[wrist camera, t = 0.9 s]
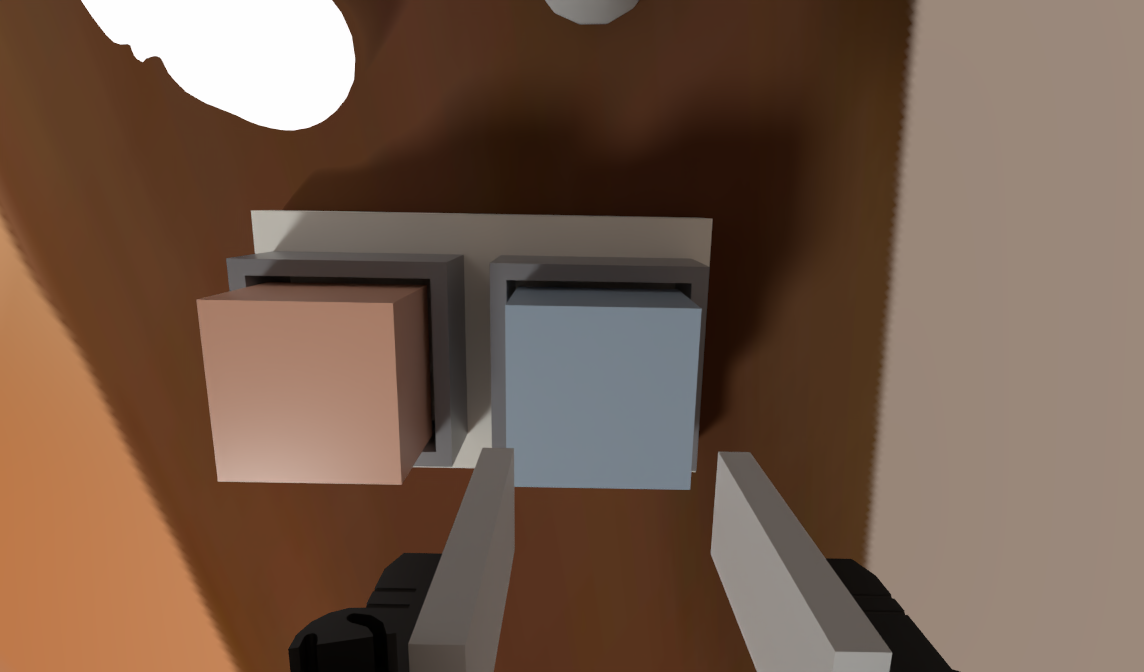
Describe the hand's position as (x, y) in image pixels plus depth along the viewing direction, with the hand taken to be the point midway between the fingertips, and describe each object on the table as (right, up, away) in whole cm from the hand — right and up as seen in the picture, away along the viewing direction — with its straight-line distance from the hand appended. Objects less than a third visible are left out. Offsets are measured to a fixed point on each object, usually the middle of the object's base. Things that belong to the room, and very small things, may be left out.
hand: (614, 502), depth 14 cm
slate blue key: (0, +3, +12) cm, 13 cm away
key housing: (-5, +4, +18) cm, 20 cm away
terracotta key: (-11, +3, +12) cm, 17 cm away
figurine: (-15, +18, +16) cm, 28 cm away
